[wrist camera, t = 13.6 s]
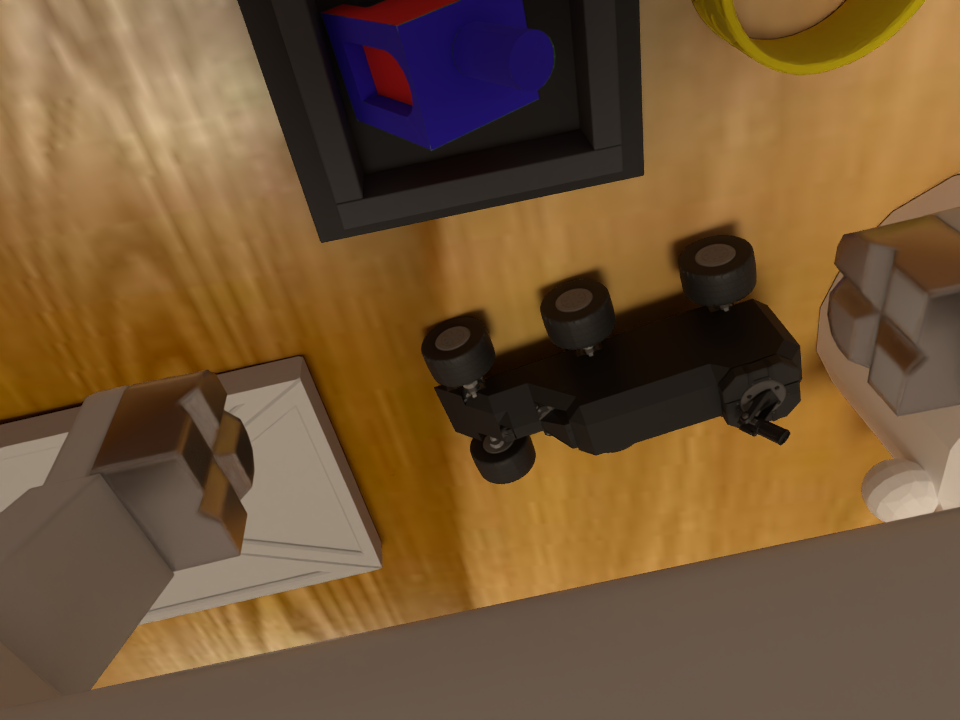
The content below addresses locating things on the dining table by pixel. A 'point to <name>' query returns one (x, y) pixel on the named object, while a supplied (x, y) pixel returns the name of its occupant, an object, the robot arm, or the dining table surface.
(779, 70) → the bracelet
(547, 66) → the toy building block
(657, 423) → the toy vehicle
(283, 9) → the base pad
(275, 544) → the envelope
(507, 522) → the dining table surface
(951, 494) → the decorative object
